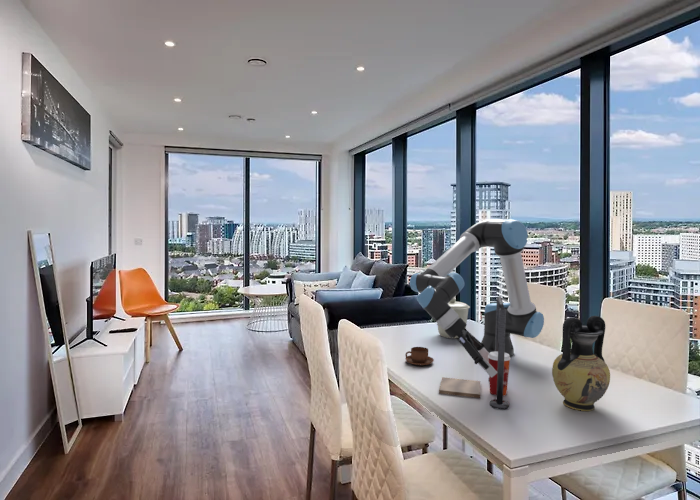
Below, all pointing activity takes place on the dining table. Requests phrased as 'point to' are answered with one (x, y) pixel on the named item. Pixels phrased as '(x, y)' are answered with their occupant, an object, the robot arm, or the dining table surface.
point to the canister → (460, 310)
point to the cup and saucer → (419, 356)
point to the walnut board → (460, 387)
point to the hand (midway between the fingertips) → (494, 369)
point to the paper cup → (494, 363)
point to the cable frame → (500, 355)
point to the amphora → (582, 364)
